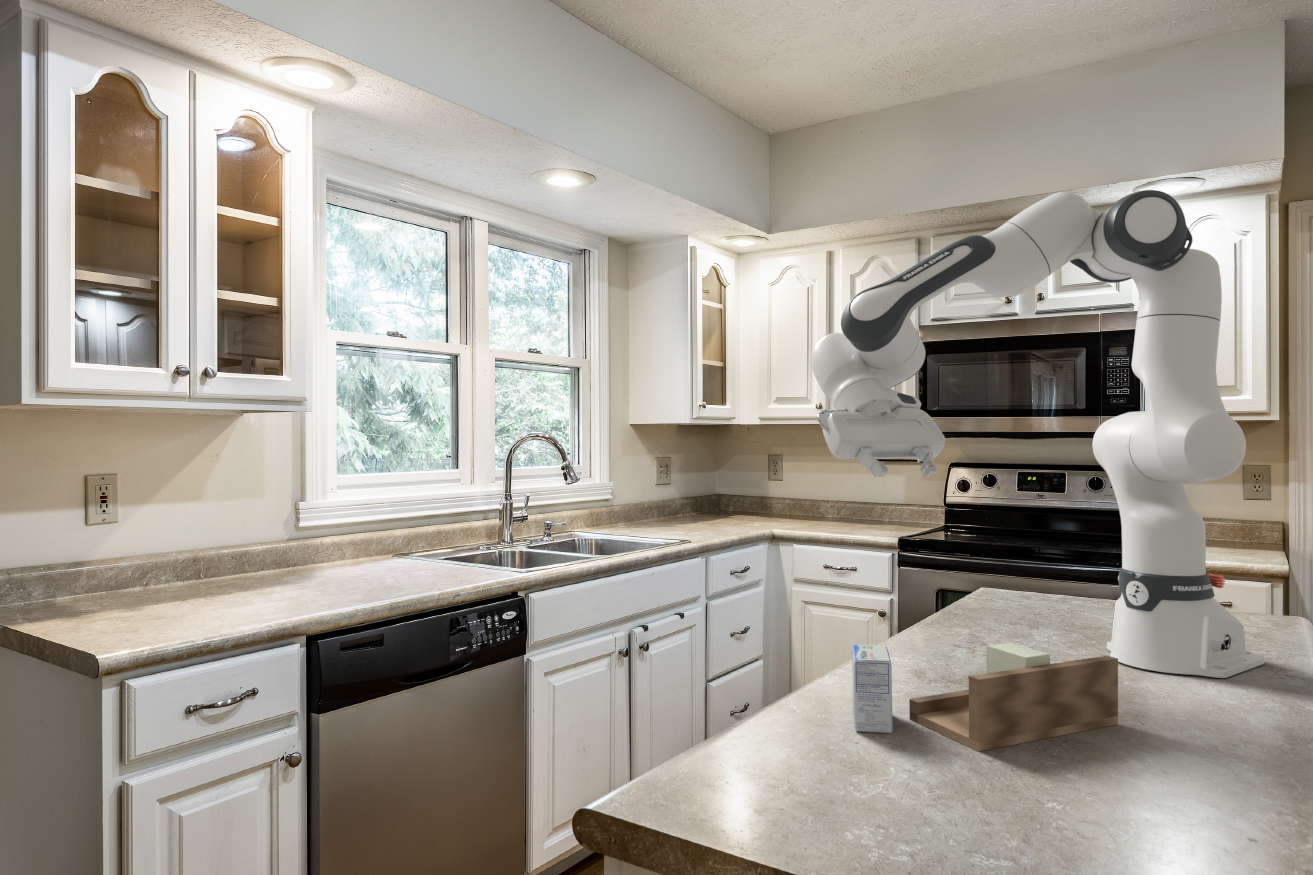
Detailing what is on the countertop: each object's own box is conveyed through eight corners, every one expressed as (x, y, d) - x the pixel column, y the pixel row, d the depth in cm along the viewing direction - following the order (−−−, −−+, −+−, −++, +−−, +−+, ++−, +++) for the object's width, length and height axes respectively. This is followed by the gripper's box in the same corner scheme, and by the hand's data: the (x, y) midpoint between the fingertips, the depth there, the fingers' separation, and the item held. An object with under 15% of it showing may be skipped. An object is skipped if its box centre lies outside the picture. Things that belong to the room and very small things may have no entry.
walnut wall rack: (1040, 696, 112) (1040, 637, 112) (1118, 724, 101) (1118, 658, 101) (909, 718, 103) (909, 654, 103) (978, 751, 92) (978, 679, 92)
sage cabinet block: (1010, 705, 105) (1010, 642, 105) (1050, 720, 99) (1050, 653, 99) (986, 709, 103) (986, 645, 103) (1025, 725, 98) (1025, 657, 98)
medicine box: (892, 735, 98) (892, 661, 98) (853, 732, 99) (853, 659, 99) (887, 713, 105) (887, 644, 105) (851, 710, 106) (851, 643, 106)
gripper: (820, 395, 129) (859, 460, 120) (925, 397, 137) (969, 458, 128) (804, 424, 133) (841, 489, 124) (907, 425, 141) (948, 486, 132)
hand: (907, 473), depth 126 cm, fingers open, 8 cm apart
